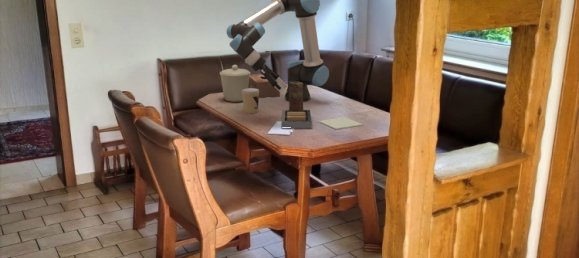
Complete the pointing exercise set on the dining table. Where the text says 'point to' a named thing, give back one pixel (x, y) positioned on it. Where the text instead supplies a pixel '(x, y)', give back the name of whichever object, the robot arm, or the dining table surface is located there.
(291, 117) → the offcut stack
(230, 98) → the canister
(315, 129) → the dining table surface
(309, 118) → the offcut rack
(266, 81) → the tissue box cover
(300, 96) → the dark brown tall cylinder
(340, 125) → the mat
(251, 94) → the coffee cup
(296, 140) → the dining table surface
